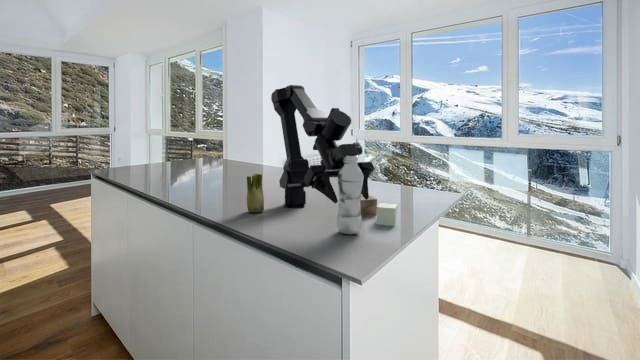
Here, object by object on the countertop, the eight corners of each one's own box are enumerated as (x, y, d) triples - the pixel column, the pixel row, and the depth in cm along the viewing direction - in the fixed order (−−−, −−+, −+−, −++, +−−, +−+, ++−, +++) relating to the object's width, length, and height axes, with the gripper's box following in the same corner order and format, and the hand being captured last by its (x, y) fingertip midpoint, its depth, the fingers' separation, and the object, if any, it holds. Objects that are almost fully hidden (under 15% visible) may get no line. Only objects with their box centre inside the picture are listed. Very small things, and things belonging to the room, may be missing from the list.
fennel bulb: (248, 214, 110) (247, 175, 108) (244, 211, 114) (243, 173, 112) (266, 213, 112) (266, 174, 110) (262, 209, 117) (261, 172, 114)
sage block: (376, 224, 101) (376, 207, 100) (378, 219, 106) (379, 203, 105) (394, 226, 100) (395, 208, 99) (396, 221, 105) (397, 204, 104)
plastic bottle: (343, 227, 98) (345, 153, 94) (366, 232, 94) (368, 155, 91) (330, 234, 92) (331, 155, 89) (354, 239, 89) (356, 157, 85)
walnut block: (361, 216, 109) (361, 200, 109) (355, 212, 114) (355, 196, 113) (376, 215, 111) (377, 199, 110) (370, 211, 115) (370, 195, 115)
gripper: (309, 132, 88) (332, 184, 80) (371, 131, 97) (397, 178, 89) (295, 161, 96) (315, 211, 88) (354, 158, 105) (376, 203, 97)
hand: (352, 200), depth 91 cm, fingers open, 9 cm apart
